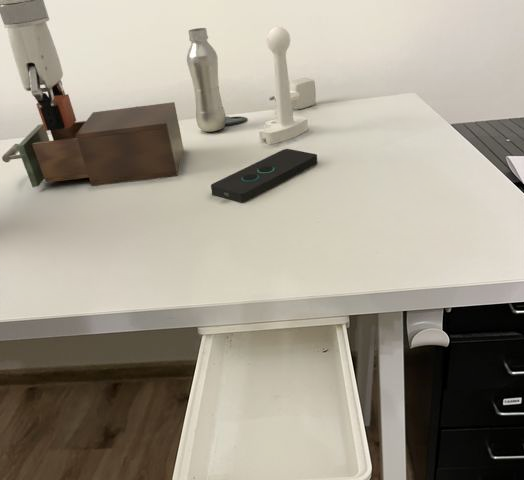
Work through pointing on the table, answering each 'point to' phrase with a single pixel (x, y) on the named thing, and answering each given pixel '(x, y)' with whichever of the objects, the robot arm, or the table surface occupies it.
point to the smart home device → (263, 175)
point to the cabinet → (131, 144)
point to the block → (62, 111)
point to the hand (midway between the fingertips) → (60, 123)
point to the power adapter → (301, 93)
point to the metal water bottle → (205, 81)
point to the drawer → (50, 155)
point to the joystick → (282, 94)
